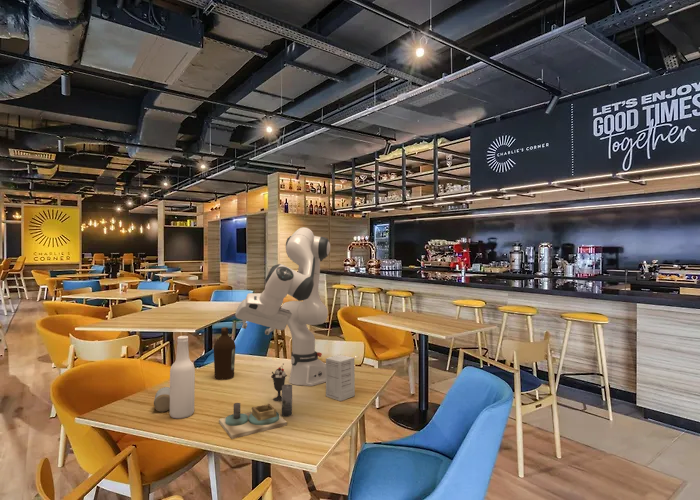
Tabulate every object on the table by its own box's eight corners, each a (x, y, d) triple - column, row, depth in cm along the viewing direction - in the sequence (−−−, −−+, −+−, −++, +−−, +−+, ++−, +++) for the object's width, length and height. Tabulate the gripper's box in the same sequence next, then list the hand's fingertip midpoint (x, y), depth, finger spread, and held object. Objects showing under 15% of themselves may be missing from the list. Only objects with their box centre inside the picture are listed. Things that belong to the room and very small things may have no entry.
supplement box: (355, 396, 173) (355, 357, 173) (340, 401, 166) (340, 361, 166) (339, 391, 179) (339, 354, 180) (325, 396, 173) (325, 357, 173)
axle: (289, 411, 155) (289, 383, 155) (293, 415, 152) (293, 386, 152) (279, 414, 153) (280, 385, 153) (284, 417, 150) (284, 388, 150)
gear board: (270, 410, 156) (270, 392, 156) (286, 425, 143) (286, 404, 143) (218, 422, 145) (218, 402, 145) (231, 439, 132) (231, 416, 132)
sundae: (289, 397, 171) (289, 362, 171) (282, 402, 165) (282, 366, 165) (276, 395, 173) (276, 361, 173) (268, 401, 167) (268, 365, 167)
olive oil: (212, 381, 193) (212, 330, 194) (214, 374, 204) (215, 326, 204) (234, 379, 196) (234, 329, 196) (235, 373, 206) (236, 325, 206)
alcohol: (178, 421, 146) (179, 339, 147) (164, 416, 151) (165, 337, 151) (199, 413, 154) (199, 335, 154) (185, 408, 158) (185, 333, 159)
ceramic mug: (152, 414, 153) (153, 394, 153) (155, 406, 160) (155, 387, 161) (182, 410, 156) (183, 391, 157) (183, 403, 164) (183, 385, 164)
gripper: (293, 306, 158) (279, 331, 163) (243, 292, 150) (231, 318, 156) (294, 317, 153) (279, 342, 158) (242, 302, 145) (229, 329, 150)
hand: (255, 330), depth 157 cm, fingers open, 8 cm apart
